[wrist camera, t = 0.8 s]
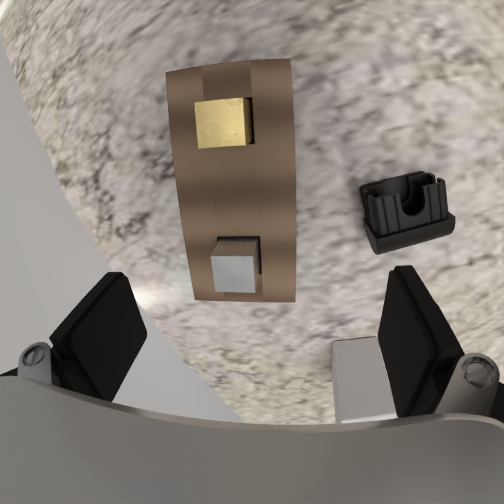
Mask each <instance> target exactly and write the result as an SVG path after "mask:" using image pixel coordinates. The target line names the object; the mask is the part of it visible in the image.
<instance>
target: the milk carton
mask: <svg viewBox="0 0 504 504" xmlns="http://www.w3.org/2000/svg"><path fill="white" fill-rule="evenodd" d="M332 381H333V393H334V405H335V419H336V424H339V423H355V422H367V421H378V420H386V419H394V418H396V411H395V406H394V402H393V398H392V394H391V390H390V386H389V382H388V378H387V374H386V370H385V366H384V363H383V359H382V356H381V352H380V349H379V345H378V342H377V338H376V337H371V338H362V339H353V340H343V341H334V342H333V349H332Z"/></svg>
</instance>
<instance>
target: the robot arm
mask: <svg viewBox="0 0 504 504" xmlns="http://www.w3.org/2000/svg"><path fill="white" fill-rule="evenodd" d="M146 338H147V330H146V328H145V325H144V323H143V320H142V317H141V315H140V312H139V309H138V306H137V303H136V300H135V298H134V295H133V292H132V289H131V286H130V283H129V280H128V278H127V277H126V276H125V275H124V274H123V273H122V272H108V273H107V274H105V275H104V276H103V278H102V279H101V280H100V281H99V282H98V283H97V284H96V285H95V286H94V287H93V288H92V289H91V290H90V291H89V292H88V294H87V295H86V296H85V297H84V298H83V299H82V300H81V302H79V304H78V305H77V306H76V307H75V308H74V309H73V310H72V311H71V313H70V314H69V315H68V316H67V317H66V318H65V319H64V321H63V322H62V323H61V324H60V325H59V326H58V328H57V329H56V330H55V331H54V332H53V334H52V335H51V336H50V337H49V339H50V340H51V342H52V344H53V347H52V348H50V346H49V345H48V344H47V343H45V342H38V343H34V344H32V345H30V346H29V347H27V348H26V349H25V350H24V351H23V352H22V354H21V356H20V358H19V364H18V367H17V368H15V369H13V370H10V371H8V372H6V373H3V374H1V375H0V504H504V384H503V383H501V382H499V379H500V373H499V369H498V367H497V365H496V364H495V362H494V361H493V360H492V359H491V358H489V357H488V356H486V355H484V354H480V353H469V354H464V352H463V350H462V348H461V346H460V344H459V342H458V340H457V338H456V336H455V334H454V333H453V331H452V329H451V327H450V325H449V324H448V322H447V320H446V318H445V316H444V315H443V313H442V311H441V310H440V308H439V306H438V305H437V303H436V302H435V301H434V300H433V298H432V296H431V295H430V293H429V291H428V290H427V288H426V287H425V285H424V283H423V282H422V280H421V279H420V277H419V275H418V274H417V272H416V271H415V269H414V268H413V266H412V265H407V266H396V267H395V268H394V270H392V271H390V272H389V277H388V283H387V289H386V295H385V301H384V306H383V311H382V316H381V321H380V326H379V331H378V341H379V345H380V348H381V352H382V356H383V359H384V363H385V367H386V371H387V375H388V379H389V383H390V387H391V391H392V395H393V399H394V404H395V408H396V413H397V416H398V418H394V419H386V420H378V421H367V422H355V423H339V424H319V425H270V424H249V423H234V422H222V421H212V420H205V419H196V418H189V417H182V416H176V415H170V414H164V413H159V412H153V411H148V410H143V409H139V408H134V407H129V406H124V405H121V404H116V403H112V401H113V399H114V397H115V395H116V393H117V392H118V390H119V388H120V386H121V384H122V382H123V380H124V378H125V376H126V375H127V373H128V371H129V369H130V367H131V365H132V364H133V362H134V360H135V358H136V356H137V355H138V353H139V351H140V349H141V347H142V346H143V344H144V342H145V340H146Z"/></svg>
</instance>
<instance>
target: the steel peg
mask: <svg viewBox="0 0 504 504" xmlns="http://www.w3.org/2000/svg"><path fill="white" fill-rule="evenodd" d="M211 263H212V270H213V278H214V285H215V291H216V292H244V293H255V291H256V286H257V281H258V276H259V271H260V266H261V265H260V246H259V236H221V238H220V239H219V241H218V243H217V245H216V247H215V249H214V251H213V252H212V254H211Z"/></svg>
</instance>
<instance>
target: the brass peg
mask: <svg viewBox="0 0 504 504" xmlns="http://www.w3.org/2000/svg"><path fill="white" fill-rule="evenodd" d="M194 104H195V117H196V129H197V140H198V149H200V148H211V147H224V146H240V145H247V144H248V143H250V142H251V141H253V124H252V108H251V101H250V100H247V99H245V98H231V99H221V100H212V101H203V102H196V103H194Z"/></svg>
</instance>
